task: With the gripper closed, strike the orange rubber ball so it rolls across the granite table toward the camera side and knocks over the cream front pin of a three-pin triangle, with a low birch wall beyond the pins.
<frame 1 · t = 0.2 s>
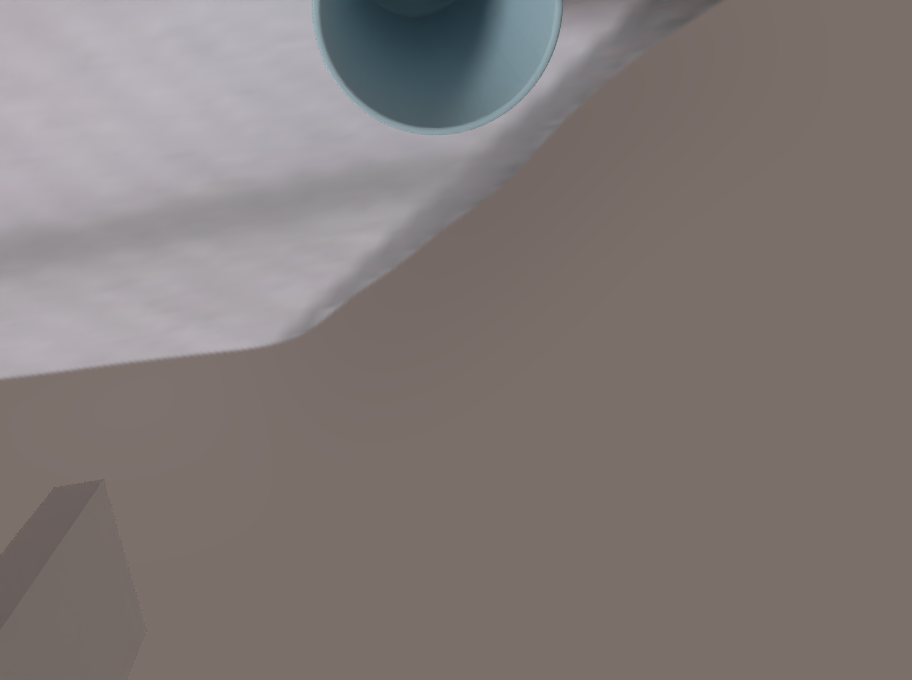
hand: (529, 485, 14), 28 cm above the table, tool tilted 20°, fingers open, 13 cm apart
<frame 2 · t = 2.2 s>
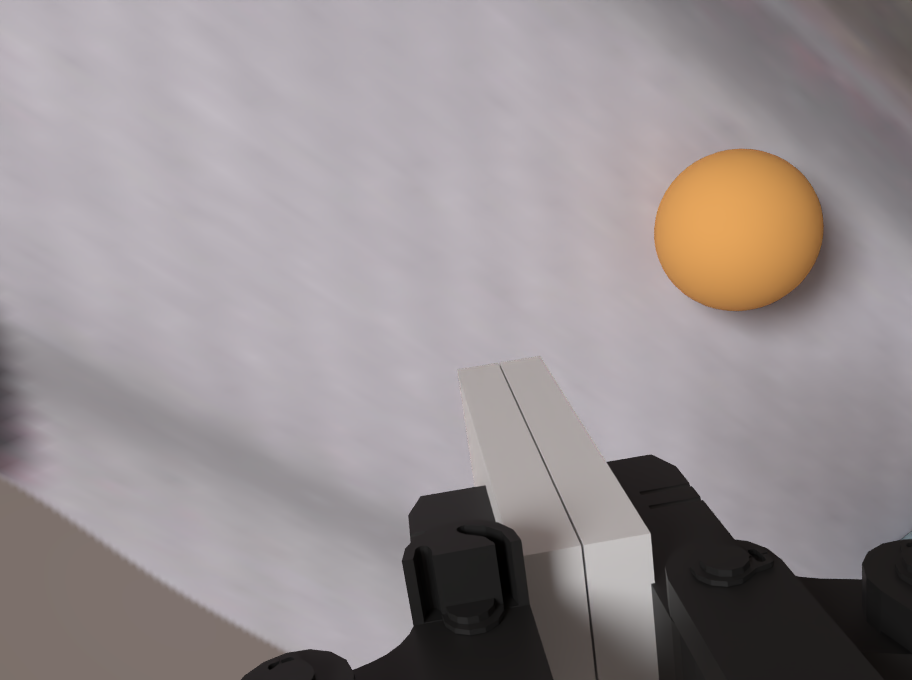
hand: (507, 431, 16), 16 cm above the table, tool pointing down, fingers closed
ball: (736, 230, 29), on the table
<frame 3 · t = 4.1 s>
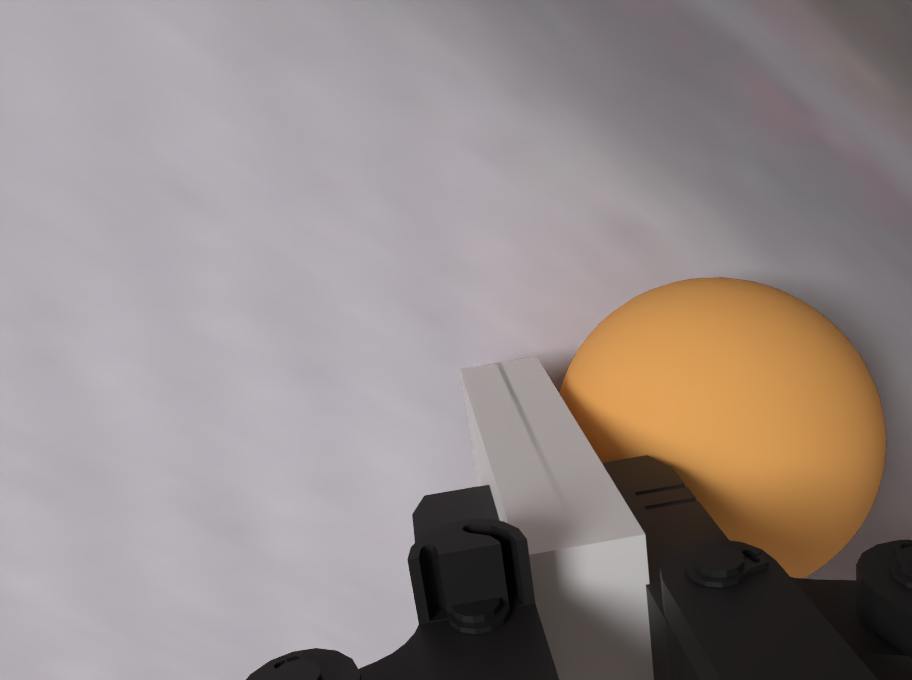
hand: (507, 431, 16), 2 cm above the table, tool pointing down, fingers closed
ball: (711, 434, 15), on the table, touching gripper
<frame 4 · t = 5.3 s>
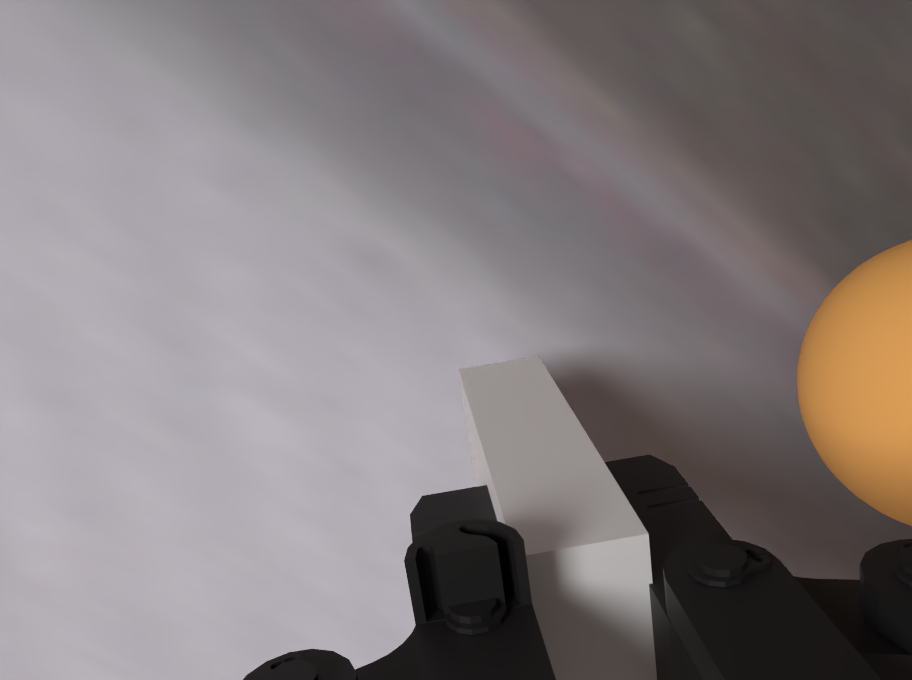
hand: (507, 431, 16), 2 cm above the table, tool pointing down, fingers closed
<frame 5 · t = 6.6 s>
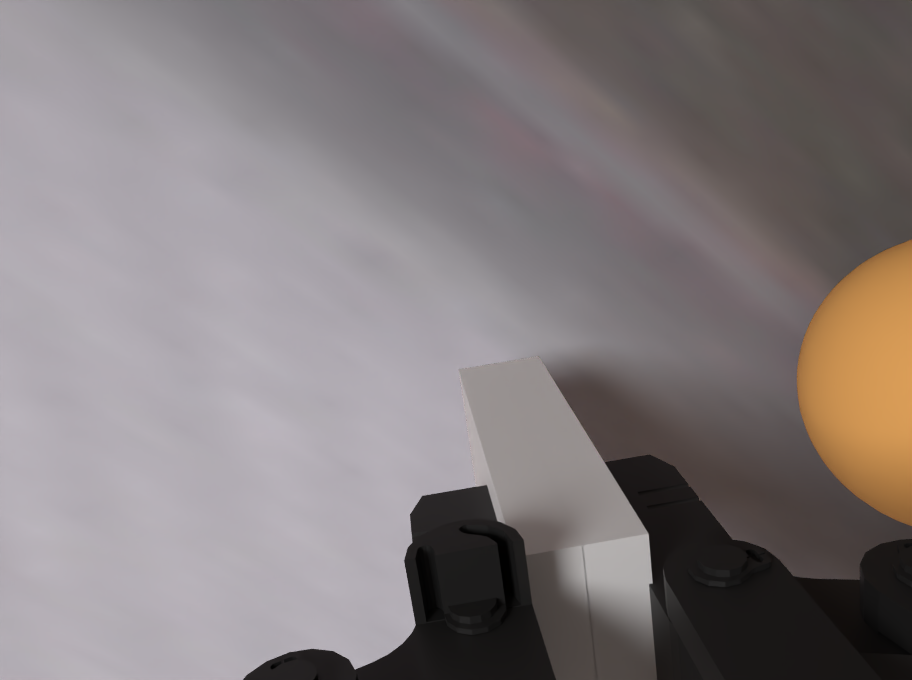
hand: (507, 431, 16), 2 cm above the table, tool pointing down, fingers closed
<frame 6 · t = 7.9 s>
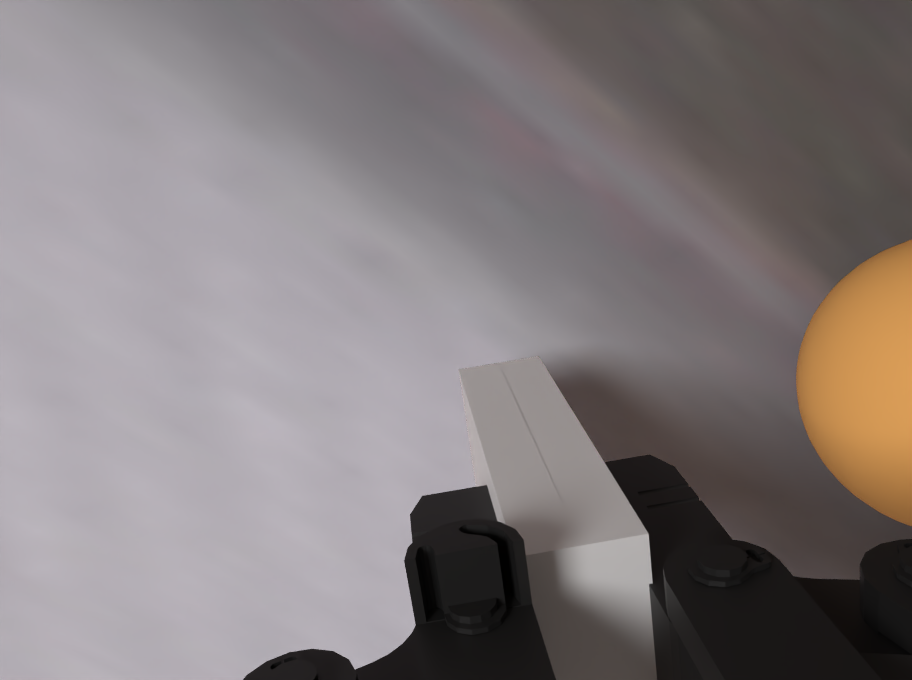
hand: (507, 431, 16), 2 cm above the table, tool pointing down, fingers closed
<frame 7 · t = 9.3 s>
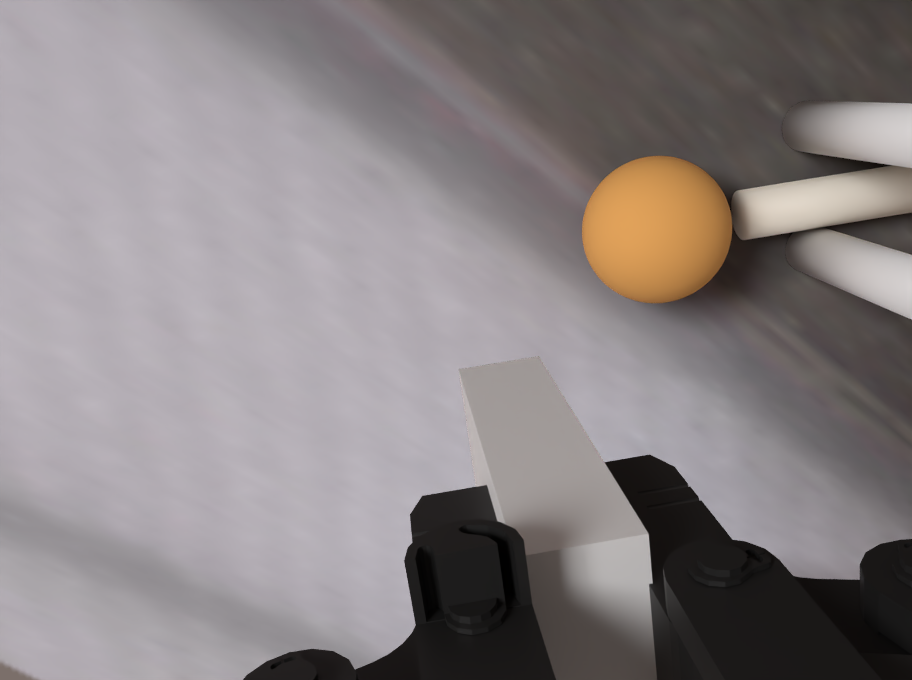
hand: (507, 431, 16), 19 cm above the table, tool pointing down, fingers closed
ball: (655, 230, 32), on the table
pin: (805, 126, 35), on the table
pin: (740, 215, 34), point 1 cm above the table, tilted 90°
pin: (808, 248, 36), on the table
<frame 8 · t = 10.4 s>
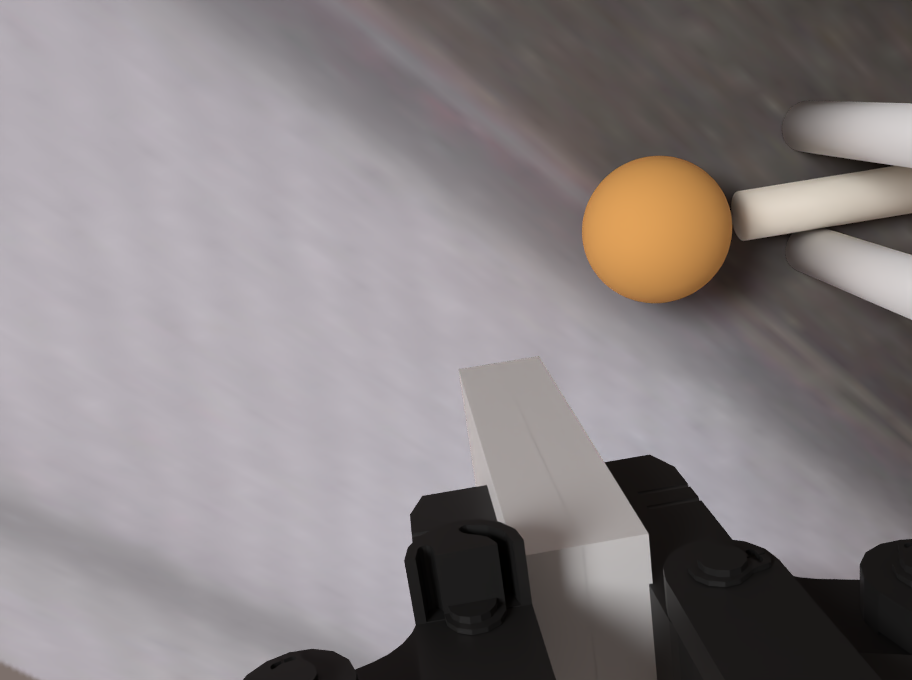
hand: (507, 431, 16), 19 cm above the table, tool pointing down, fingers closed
ball: (655, 230, 32), on the table
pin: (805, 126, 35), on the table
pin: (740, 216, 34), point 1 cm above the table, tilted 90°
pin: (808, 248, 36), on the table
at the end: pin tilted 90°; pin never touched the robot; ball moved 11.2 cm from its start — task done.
